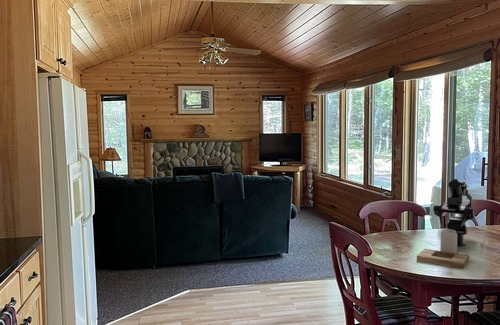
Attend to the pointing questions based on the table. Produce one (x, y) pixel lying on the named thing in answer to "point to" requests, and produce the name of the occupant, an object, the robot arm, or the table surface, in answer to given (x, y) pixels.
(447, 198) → the robot arm
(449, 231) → the can
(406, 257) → the table surface
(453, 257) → the pocket board
